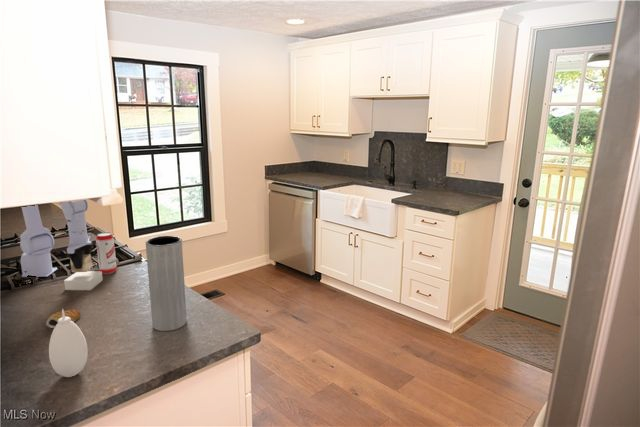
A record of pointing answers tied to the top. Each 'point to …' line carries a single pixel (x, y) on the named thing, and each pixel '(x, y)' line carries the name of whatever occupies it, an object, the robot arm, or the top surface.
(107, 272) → the beer can
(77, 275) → the white block
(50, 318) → the pastry
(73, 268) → the maple cube
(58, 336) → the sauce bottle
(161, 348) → the top surface
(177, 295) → the vase
